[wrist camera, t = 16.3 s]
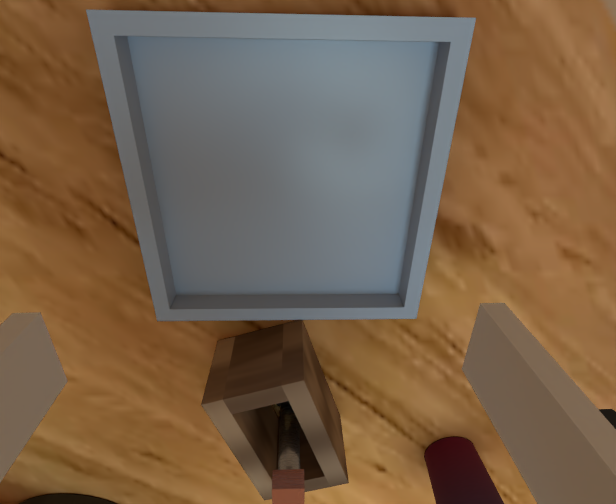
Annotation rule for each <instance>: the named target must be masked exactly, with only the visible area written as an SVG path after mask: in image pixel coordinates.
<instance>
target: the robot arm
mask: <svg viewBox="0 0 616 504" xmlns="http://www.w3.org/2000/svg"><path fill="white" fill-rule="evenodd" d="M462 370H463V372H464V374H465V376H466V377H467V379H468V381H469V383H470V384H471V386H472V388H473V390H474V392H475V393H476V395H477V397H478V399H479V400H480V402H481V404H482V406H483V408H484V409H485V411H486V413H487V415H488V416H489V418H490V420H491V422H492V424H493V425H494V427H495V429H496V431H497V432H498V434H499V436H500V438H501V440H502V441H503V443H504V445H505V447H506V449H507V450H508V452H509V454H510V456H511V457H512V459H513V461H514V463H515V465H516V466H517V468H518V470H519V472H520V473H521V475H522V477H523V479H524V481H525V482H526V484H527V486H528V488H529V489H530V491H531V493H532V495H533V497H534V498H535V500H536V502H537V504H616V412H615V411H614V410H612V409H599V410H598V409H597V408H596V406H595V405H594V404H593V403H592V402H591V401H590V400H589V398H588V397H587V396H586V395H585V394H584V393H583V392H582V391H581V389H580V388H579V387H578V386H577V385H576V384H575V383H574V381H573V380H572V379H571V378H570V377H569V376H568V375H567V373H566V372H565V371H564V370H563V369H562V368H561V367H560V366H559V364H558V363H557V362H556V361H555V360H554V359H553V358H552V356H551V355H550V354H549V353H548V352H547V351H546V350H545V349H544V347H543V346H542V345H541V344H540V343H539V342H538V341H537V339H536V338H535V337H534V336H533V335H532V334H531V333H530V332H529V330H528V329H527V328H526V327H525V326H524V325H523V324H522V322H521V321H520V320H519V319H518V318H517V317H516V316H515V314H514V313H513V312H512V311H511V310H510V309H509V308H508V307H507V305H506V304H505V303H480V307H479V310H478V314H477V317H476V321H475V324H474V328H473V331H472V335H471V338H470V342H469V346H468V349H467V353H466V356H465V360H464V363H463V367H462ZM66 383H67V378H66V376H65V373H64V371H63V368H62V366H61V363H60V361H59V358H58V355H57V353H56V350H55V348H54V345H53V343H52V340H51V338H50V335H49V333H48V330H47V328H46V325H45V323H44V320H43V318H42V315H41V313H12V314H11V315H10V316H9V317H8V318H7V319H6V320H5V321H4V322H3V323H2V324H1V325H0V482H1V481H2V479H3V478H4V476H5V475H6V473H7V472H8V470H9V469H10V467H11V466H12V464H13V463H14V461H15V460H16V458H17V457H18V455H19V454H20V452H21V451H22V449H23V448H24V446H25V445H26V443H27V442H28V440H29V439H30V437H31V435H32V434H33V432H34V431H35V429H36V428H37V426H38V425H39V423H40V422H41V420H42V419H43V417H44V416H45V414H46V413H47V411H48V410H49V408H50V407H51V405H52V404H53V402H54V401H55V399H56V398H57V396H58V395H59V393H60V392H61V390H62V389H63V387H64V386H65V384H66ZM20 504H115V503H112V502H110V501H106V500H103V499H99V498H95V497H90V496H84V495H75V494H52V495H44V496H38V497H34V498H31V499H28V500H26V501H23V502H21V503H20Z"/></svg>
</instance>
